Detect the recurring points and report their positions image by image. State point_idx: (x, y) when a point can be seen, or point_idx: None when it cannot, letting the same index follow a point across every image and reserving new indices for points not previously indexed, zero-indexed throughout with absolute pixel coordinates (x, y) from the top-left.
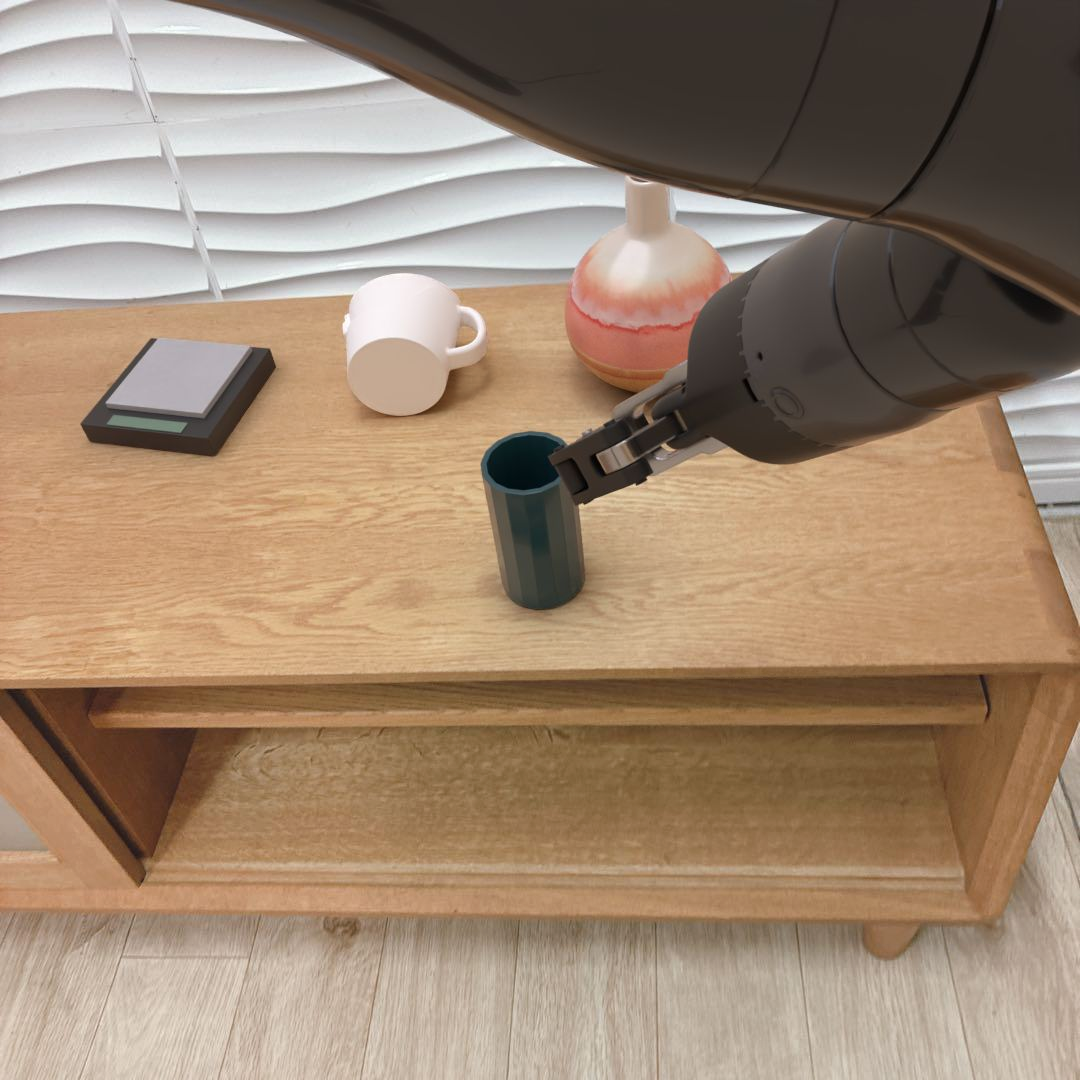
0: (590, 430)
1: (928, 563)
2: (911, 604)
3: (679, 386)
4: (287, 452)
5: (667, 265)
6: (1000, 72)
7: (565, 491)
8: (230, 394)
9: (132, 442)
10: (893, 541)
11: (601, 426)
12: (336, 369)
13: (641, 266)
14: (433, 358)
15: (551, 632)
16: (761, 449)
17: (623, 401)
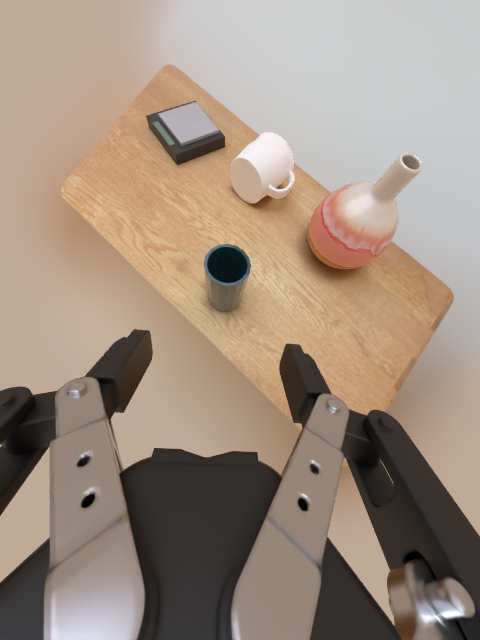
0: (73, 394)
1: None
2: None
3: (150, 496)
4: (198, 182)
5: (371, 219)
6: None
7: (231, 289)
8: (197, 144)
9: (158, 137)
10: (335, 381)
11: (82, 404)
12: None
13: (360, 210)
14: (260, 184)
15: (208, 317)
16: None
17: (52, 456)
